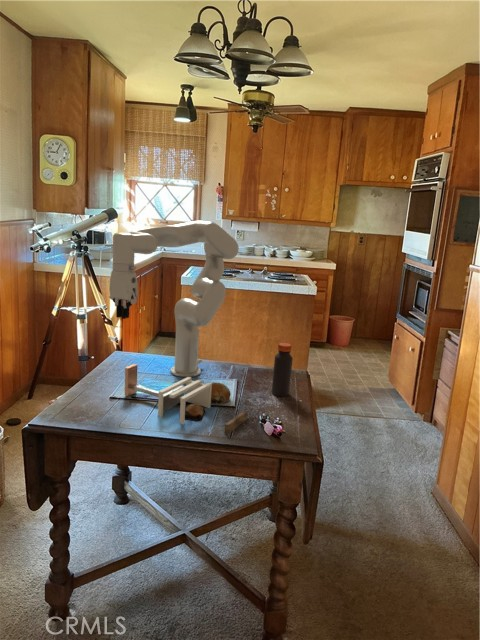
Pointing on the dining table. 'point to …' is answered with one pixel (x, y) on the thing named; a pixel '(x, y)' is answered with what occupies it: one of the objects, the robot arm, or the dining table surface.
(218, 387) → the bread roll
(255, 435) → the dining table surface
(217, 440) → the dining table surface
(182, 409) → the white slatted rack
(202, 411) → the bread roll
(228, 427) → the bar
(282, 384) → the bottle
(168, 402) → the rod with wooden block
